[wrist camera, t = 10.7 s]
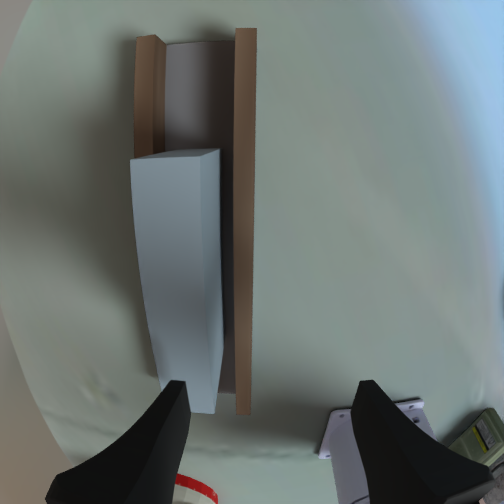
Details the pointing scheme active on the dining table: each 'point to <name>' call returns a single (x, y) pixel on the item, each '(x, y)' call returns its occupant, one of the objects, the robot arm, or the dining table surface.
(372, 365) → the dining table surface
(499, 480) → the decorative orb
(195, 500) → the kitchen timer
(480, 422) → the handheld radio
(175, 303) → the door panel
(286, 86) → the dining table surface
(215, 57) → the floor track
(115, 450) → the robot arm
